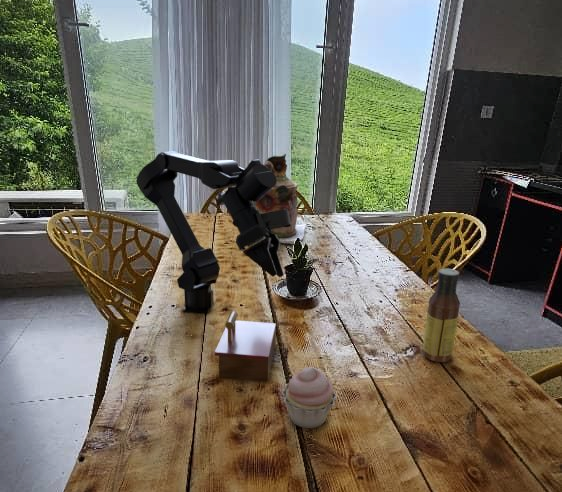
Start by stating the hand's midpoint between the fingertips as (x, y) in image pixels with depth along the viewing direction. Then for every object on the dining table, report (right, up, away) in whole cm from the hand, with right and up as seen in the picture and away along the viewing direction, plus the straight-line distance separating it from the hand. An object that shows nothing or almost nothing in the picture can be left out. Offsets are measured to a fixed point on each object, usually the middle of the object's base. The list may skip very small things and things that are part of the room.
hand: (278, 276), depth 94 cm
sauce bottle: (+34, -18, +3) cm, 39 cm away
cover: (-6, -13, -3) cm, 15 cm away
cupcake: (+5, -25, -17) cm, 31 cm away
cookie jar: (-2, +16, +85) cm, 86 cm away
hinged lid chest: (-6, -18, -2) cm, 19 cm away
